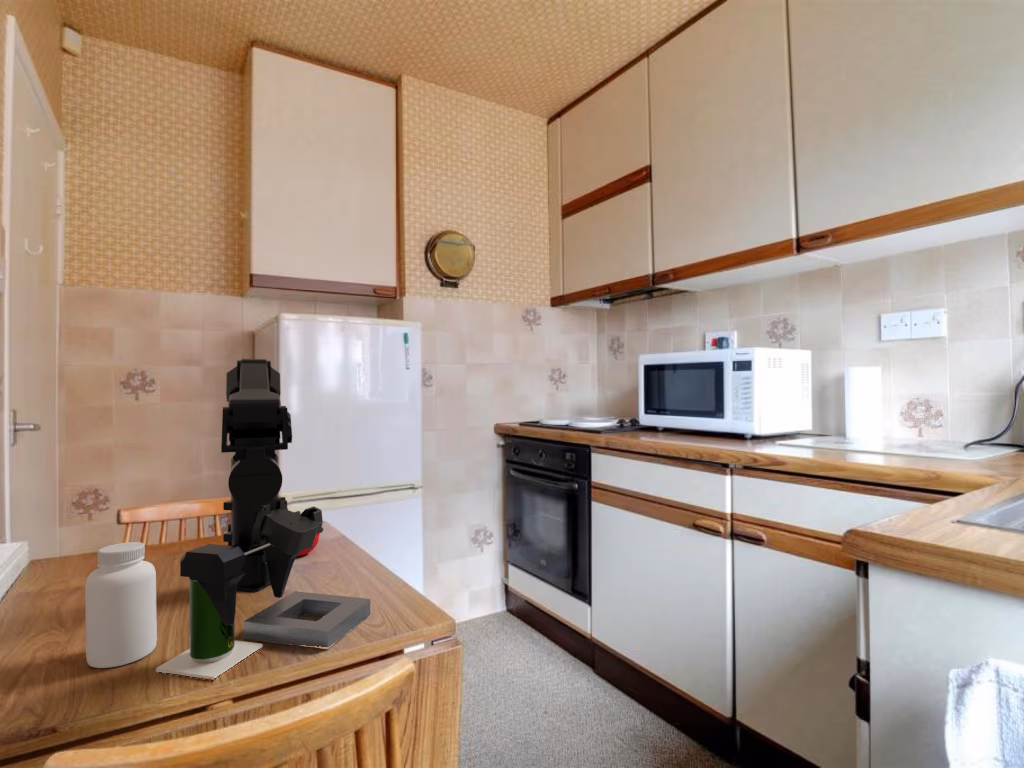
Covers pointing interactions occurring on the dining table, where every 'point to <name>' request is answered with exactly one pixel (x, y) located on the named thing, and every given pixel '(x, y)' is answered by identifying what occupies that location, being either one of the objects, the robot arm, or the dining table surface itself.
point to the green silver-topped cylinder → (208, 629)
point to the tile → (211, 670)
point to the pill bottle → (120, 607)
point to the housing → (286, 627)
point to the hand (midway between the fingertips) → (255, 609)
